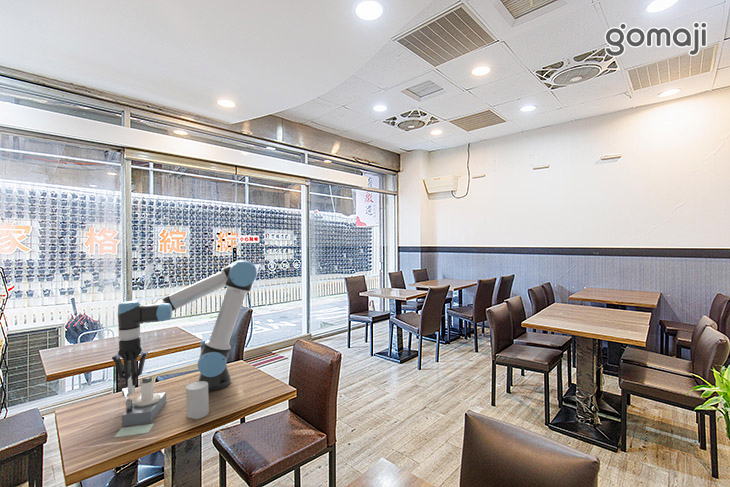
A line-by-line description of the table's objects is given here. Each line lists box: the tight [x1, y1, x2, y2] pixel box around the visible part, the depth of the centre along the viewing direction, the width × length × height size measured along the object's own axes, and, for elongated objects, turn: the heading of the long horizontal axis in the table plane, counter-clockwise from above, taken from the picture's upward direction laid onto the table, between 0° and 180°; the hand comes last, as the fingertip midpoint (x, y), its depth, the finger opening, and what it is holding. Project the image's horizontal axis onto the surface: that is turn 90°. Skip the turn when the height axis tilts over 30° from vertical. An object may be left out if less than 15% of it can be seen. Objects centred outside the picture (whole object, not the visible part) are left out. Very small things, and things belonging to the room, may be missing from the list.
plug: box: [133, 376, 161, 407], centre depth 139 cm, size 9×9×14 cm
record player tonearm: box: [121, 387, 133, 412], centre depth 137 cm, size 2×16×4 cm, turn 41°
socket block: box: [121, 391, 167, 428], centre depth 139 cm, size 10×18×5 cm, turn 14°
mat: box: [113, 423, 155, 439], centre depth 126 cm, size 11×6×1 cm, turn 104°
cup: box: [185, 381, 210, 420], centre depth 139 cm, size 8×8×12 cm
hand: (131, 393), depth 142 cm, fingers closed
